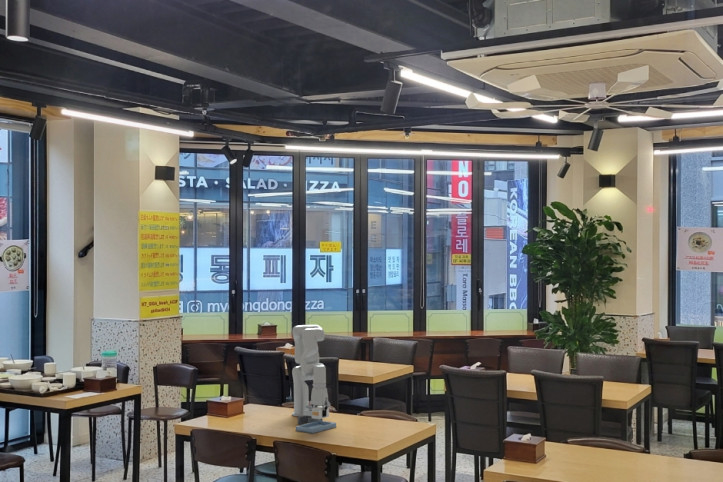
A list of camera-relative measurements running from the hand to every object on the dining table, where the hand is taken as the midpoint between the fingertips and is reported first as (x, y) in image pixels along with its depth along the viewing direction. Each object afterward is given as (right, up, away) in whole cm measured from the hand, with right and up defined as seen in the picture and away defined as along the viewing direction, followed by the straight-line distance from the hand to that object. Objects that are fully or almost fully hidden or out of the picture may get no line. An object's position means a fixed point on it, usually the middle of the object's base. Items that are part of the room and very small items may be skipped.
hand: (320, 415), depth 480 cm
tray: (-2, -7, -3) cm, 8 cm away
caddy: (-2, -1, -3) cm, 4 cm away
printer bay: (-7, -7, +12) cm, 16 cm away
